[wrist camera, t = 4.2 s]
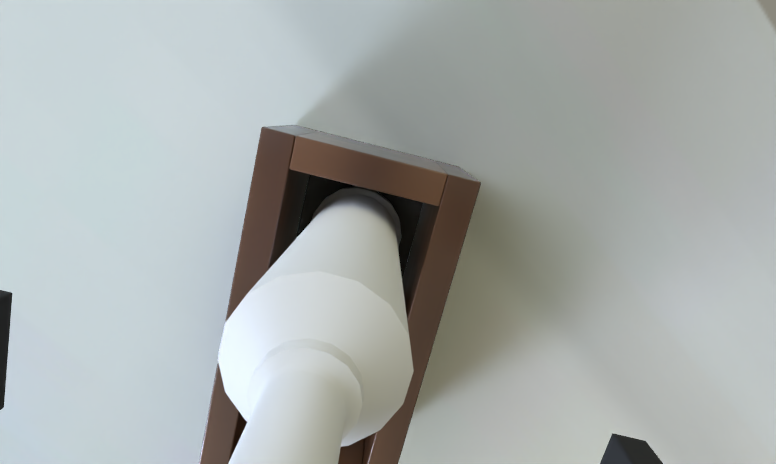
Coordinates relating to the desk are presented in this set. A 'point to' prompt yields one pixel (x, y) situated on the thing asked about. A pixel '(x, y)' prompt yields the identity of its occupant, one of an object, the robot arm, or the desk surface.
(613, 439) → the robot arm
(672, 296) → the desk surface
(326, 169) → the caddy
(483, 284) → the desk surface
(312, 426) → the bottle
